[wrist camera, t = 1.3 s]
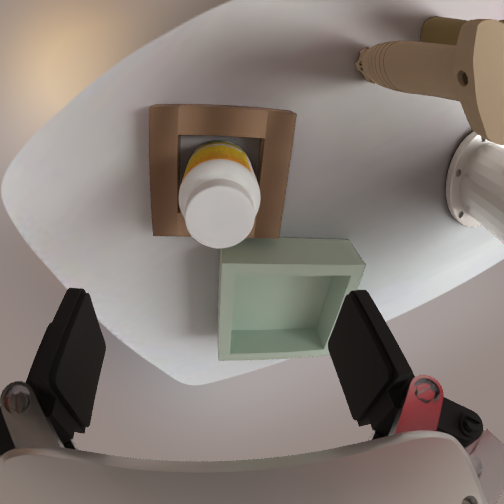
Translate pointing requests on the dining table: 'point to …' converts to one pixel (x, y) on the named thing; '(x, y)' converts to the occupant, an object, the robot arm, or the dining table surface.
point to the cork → (442, 30)
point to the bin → (283, 296)
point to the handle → (448, 72)
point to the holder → (218, 124)
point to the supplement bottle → (219, 195)
